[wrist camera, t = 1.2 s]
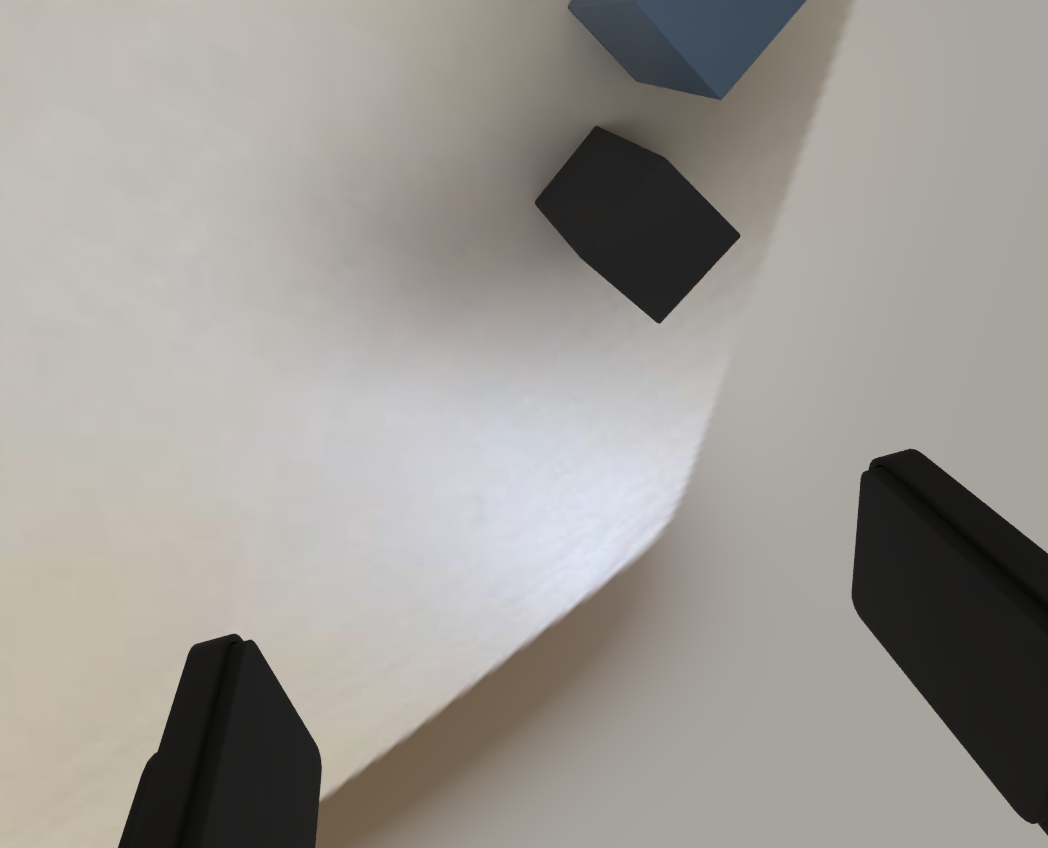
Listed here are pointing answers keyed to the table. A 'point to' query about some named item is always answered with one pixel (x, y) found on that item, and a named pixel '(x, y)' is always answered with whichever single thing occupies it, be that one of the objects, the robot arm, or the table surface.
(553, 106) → the table surface
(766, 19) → the blue rectangular block
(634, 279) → the black rectangular block
